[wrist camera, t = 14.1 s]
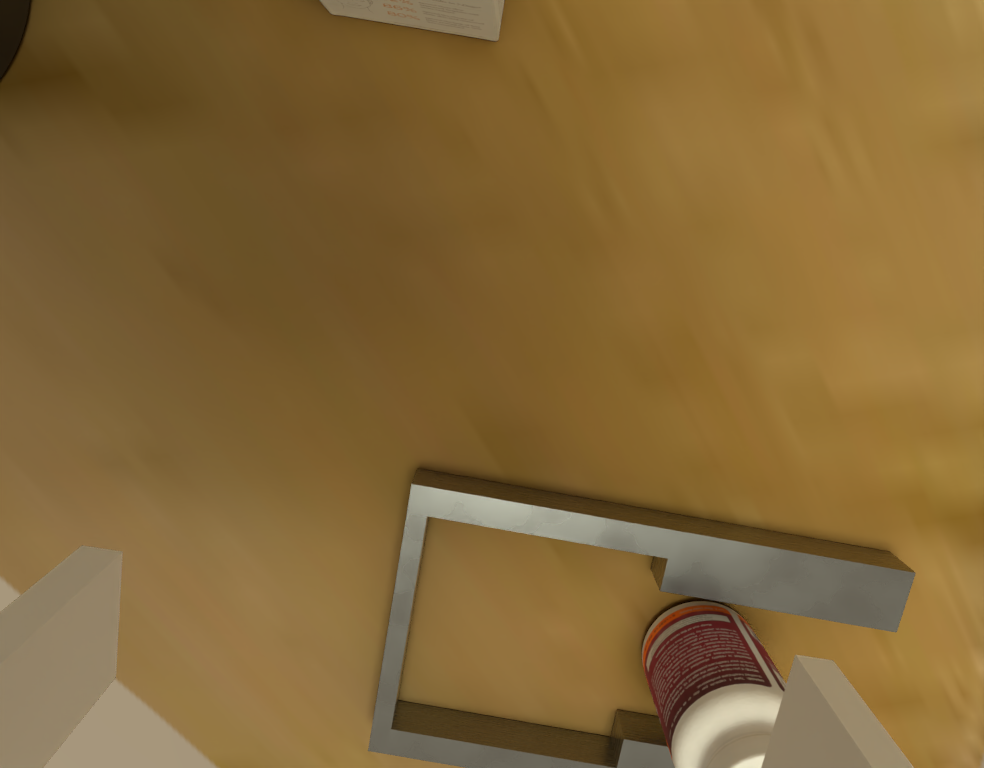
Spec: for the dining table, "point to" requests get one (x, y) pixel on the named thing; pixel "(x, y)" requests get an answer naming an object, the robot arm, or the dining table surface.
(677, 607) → the pill bottle
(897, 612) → the grey u-shaped frame
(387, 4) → the small box
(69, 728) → the robot arm
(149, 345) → the dining table surface
